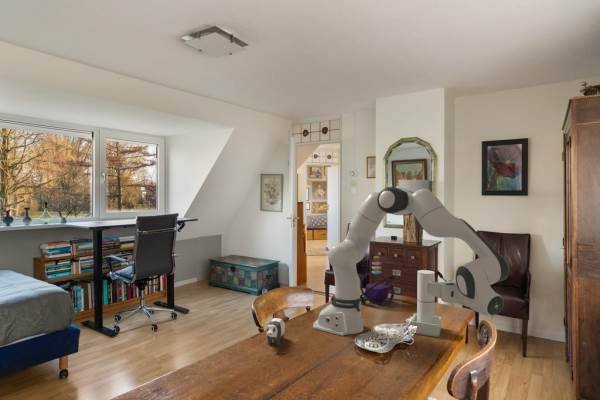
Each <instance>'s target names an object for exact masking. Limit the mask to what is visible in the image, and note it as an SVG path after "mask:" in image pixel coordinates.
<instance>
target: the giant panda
mask: <svg viewBox="0 0 600 400" xmlns="http://www.w3.org/2000/svg"><path fill="white" fill-rule="evenodd" d="M285 325H286V324H285V322H284V320H283V318H279V317H275V318H272V319H271V321H270V322H269V323H268V326H267V328H266V335H267V346H271V345H272V344H273V340H275V346H277V347H279V346H281V340H282V341H283V340H284V336H285V335H284V334H285V331H286V326H285Z"/></svg>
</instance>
